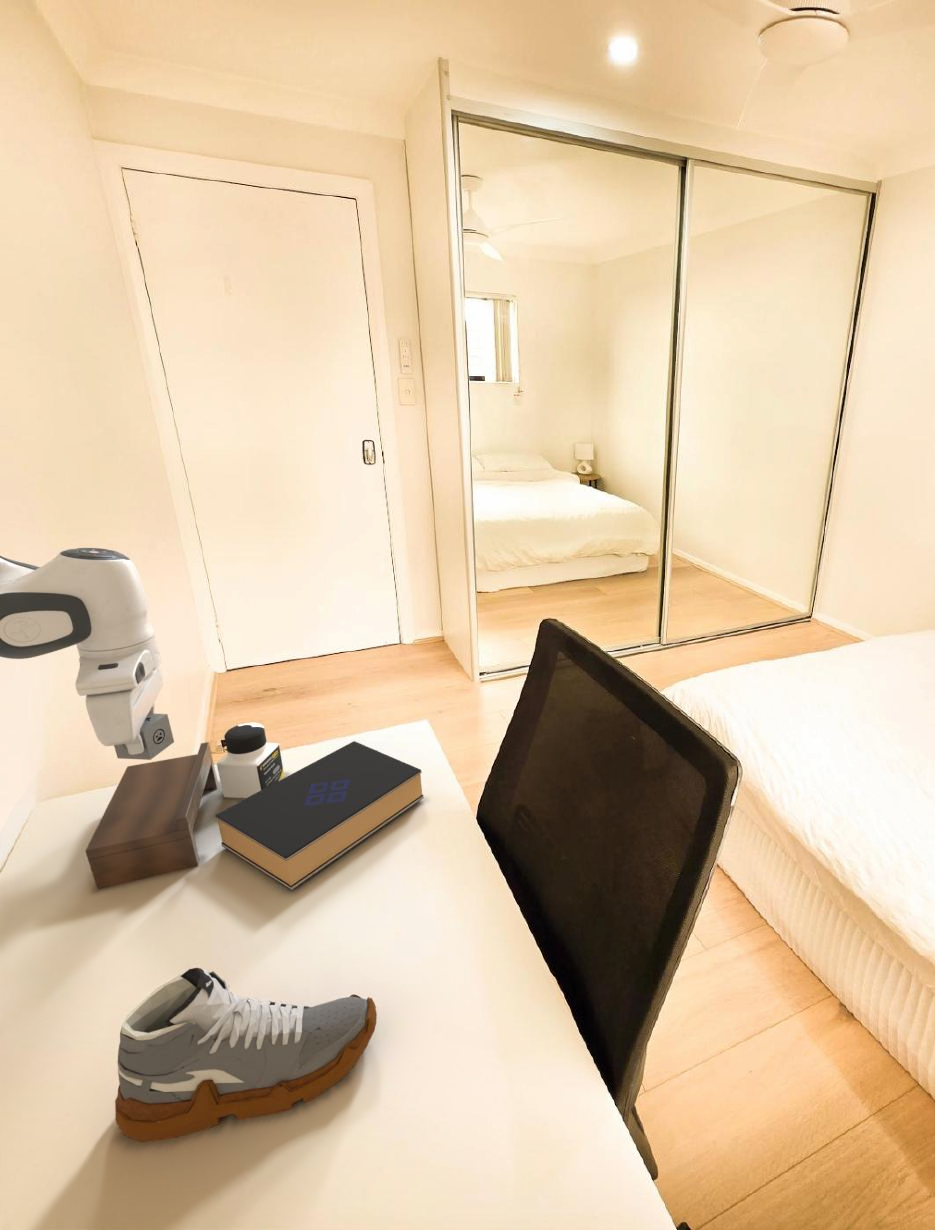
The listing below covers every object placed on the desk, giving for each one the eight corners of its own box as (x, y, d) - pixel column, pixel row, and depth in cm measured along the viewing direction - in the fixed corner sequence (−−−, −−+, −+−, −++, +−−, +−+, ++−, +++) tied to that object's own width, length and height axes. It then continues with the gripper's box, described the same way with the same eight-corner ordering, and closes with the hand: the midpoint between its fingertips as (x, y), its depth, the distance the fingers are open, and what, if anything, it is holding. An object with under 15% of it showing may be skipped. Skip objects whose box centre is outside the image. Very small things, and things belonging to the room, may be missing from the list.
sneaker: (376, 1089, 62) (361, 983, 57) (102, 1163, 56) (57, 1050, 51) (382, 1007, 71) (369, 908, 66) (144, 1062, 64) (109, 957, 59)
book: (222, 850, 94) (214, 814, 92) (357, 771, 114) (353, 740, 112) (292, 895, 86) (285, 857, 84) (424, 801, 107) (421, 769, 104)
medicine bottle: (263, 799, 106) (252, 740, 101) (223, 798, 106) (210, 738, 101) (285, 775, 112) (275, 719, 108) (247, 774, 112) (235, 717, 108)
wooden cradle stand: (97, 891, 85) (81, 839, 82) (137, 800, 104) (124, 755, 101) (198, 867, 90) (186, 817, 87) (218, 785, 109) (208, 741, 106)
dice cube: (174, 742, 95) (167, 714, 94) (150, 759, 91) (142, 730, 89) (142, 740, 95) (135, 712, 94) (117, 758, 91) (109, 729, 89)
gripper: (115, 635, 95) (135, 713, 100) (70, 690, 78) (97, 781, 83) (163, 630, 98) (181, 706, 102) (130, 683, 80) (153, 771, 85)
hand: (143, 740), depth 92 cm, fingers closed on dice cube, 5 cm apart
